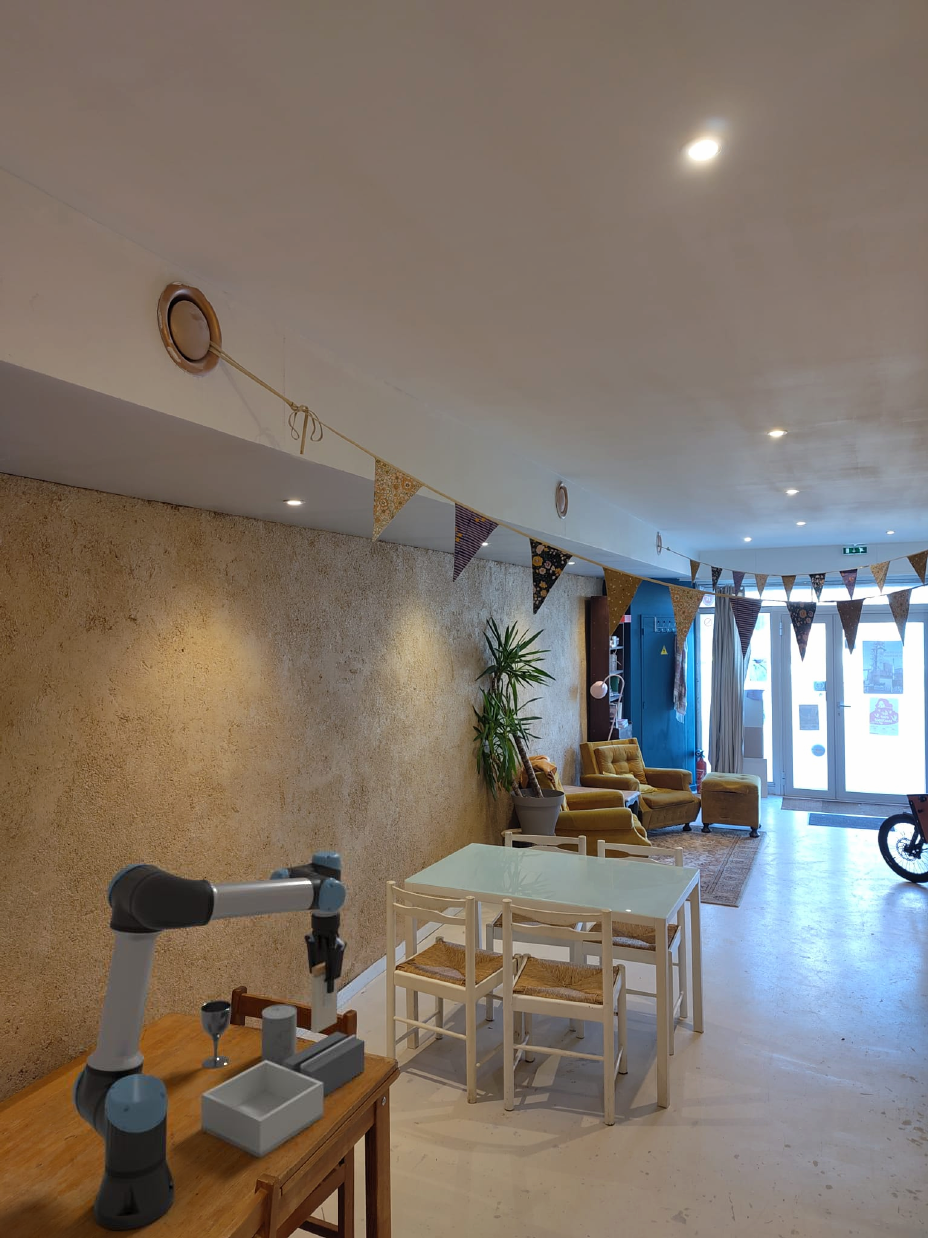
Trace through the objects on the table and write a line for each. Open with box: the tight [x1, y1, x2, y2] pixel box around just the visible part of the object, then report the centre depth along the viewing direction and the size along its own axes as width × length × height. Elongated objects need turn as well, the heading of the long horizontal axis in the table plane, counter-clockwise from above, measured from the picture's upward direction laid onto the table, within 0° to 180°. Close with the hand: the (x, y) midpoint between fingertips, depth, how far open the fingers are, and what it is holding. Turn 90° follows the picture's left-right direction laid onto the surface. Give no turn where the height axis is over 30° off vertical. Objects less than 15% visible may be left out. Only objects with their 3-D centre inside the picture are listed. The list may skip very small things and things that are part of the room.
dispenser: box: [282, 1031, 365, 1098], centre depth 217 cm, size 20×10×9 cm, turn 146°
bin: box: [200, 1060, 324, 1159], centre depth 198 cm, size 20×20×8 cm
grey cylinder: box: [260, 1003, 298, 1066], centre depth 230 cm, size 10×10×12 cm
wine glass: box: [200, 999, 232, 1070], centre depth 227 cm, size 8×8×15 cm
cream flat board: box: [310, 962, 338, 1034], centre depth 217 cm, size 8×2×16 cm, turn 146°
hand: (324, 1003), depth 217 cm, fingers closed on cream flat board, 1 cm apart
